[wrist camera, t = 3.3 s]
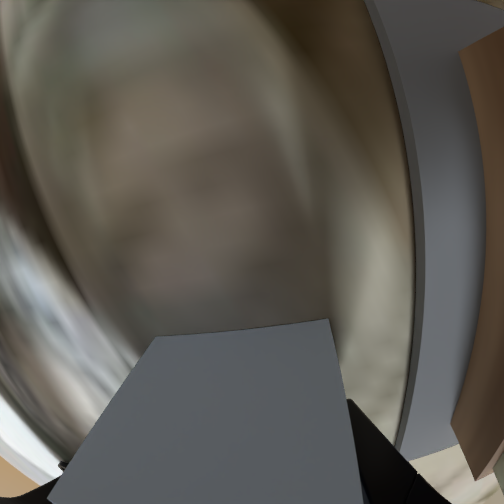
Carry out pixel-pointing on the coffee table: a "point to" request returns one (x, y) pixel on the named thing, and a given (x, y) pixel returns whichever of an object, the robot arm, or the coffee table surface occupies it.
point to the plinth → (487, 272)
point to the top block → (223, 425)
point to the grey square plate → (439, 200)
